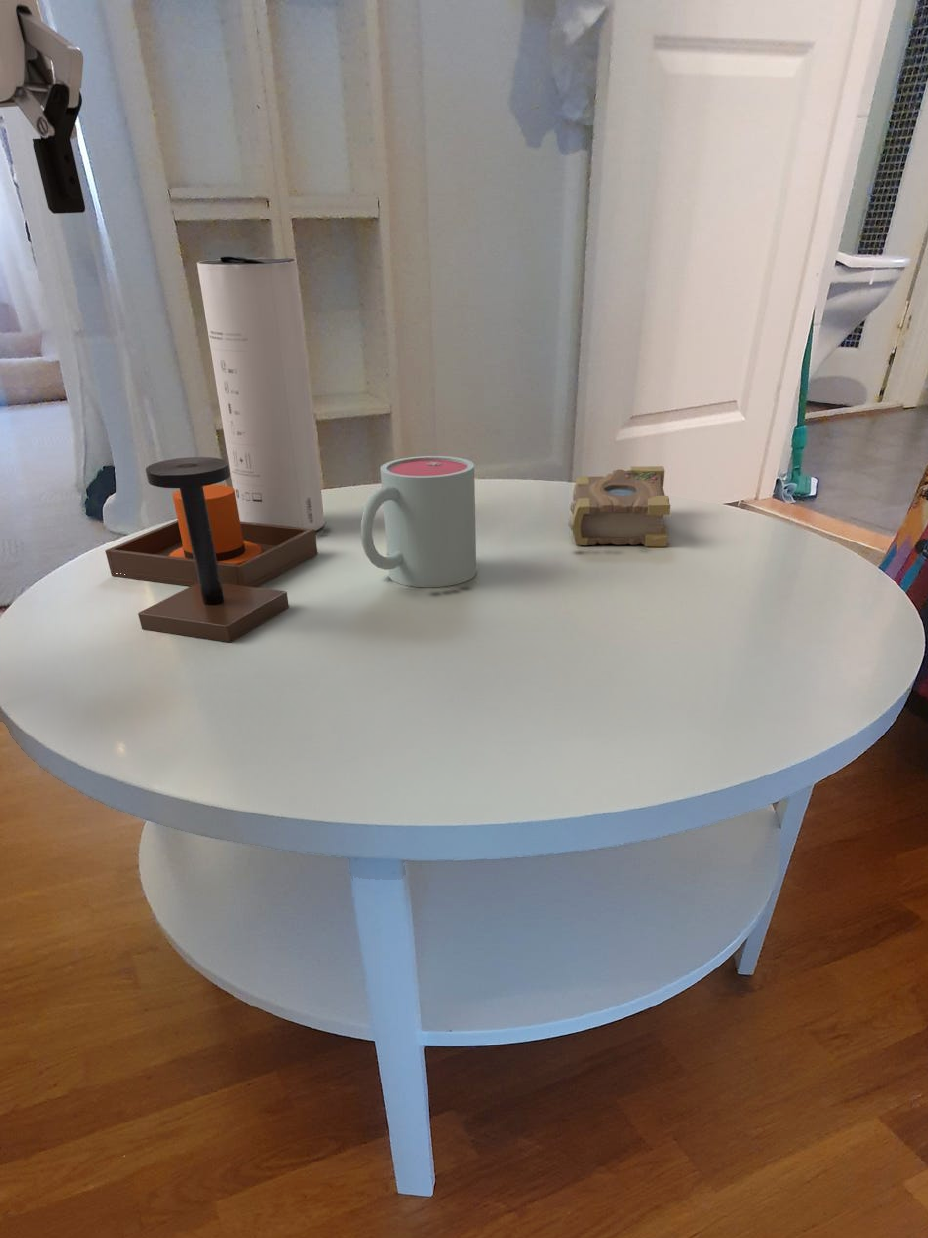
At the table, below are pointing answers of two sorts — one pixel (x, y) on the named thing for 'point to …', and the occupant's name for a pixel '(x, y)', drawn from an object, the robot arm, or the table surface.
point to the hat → (218, 527)
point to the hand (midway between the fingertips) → (17, 214)
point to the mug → (425, 521)
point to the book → (620, 508)
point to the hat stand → (206, 566)
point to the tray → (278, 555)
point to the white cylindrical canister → (263, 388)
